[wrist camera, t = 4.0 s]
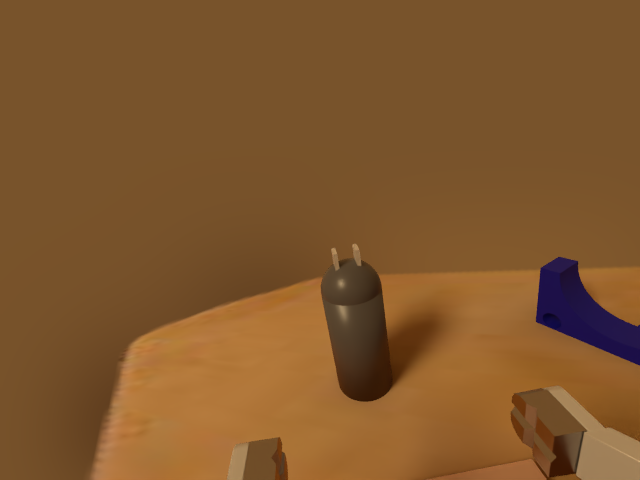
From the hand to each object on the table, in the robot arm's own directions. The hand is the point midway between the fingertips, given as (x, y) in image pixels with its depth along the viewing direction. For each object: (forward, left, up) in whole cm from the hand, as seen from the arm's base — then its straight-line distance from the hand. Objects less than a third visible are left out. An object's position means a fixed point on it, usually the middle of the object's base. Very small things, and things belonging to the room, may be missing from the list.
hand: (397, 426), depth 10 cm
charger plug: (0, -13, -11) cm, 17 cm away
